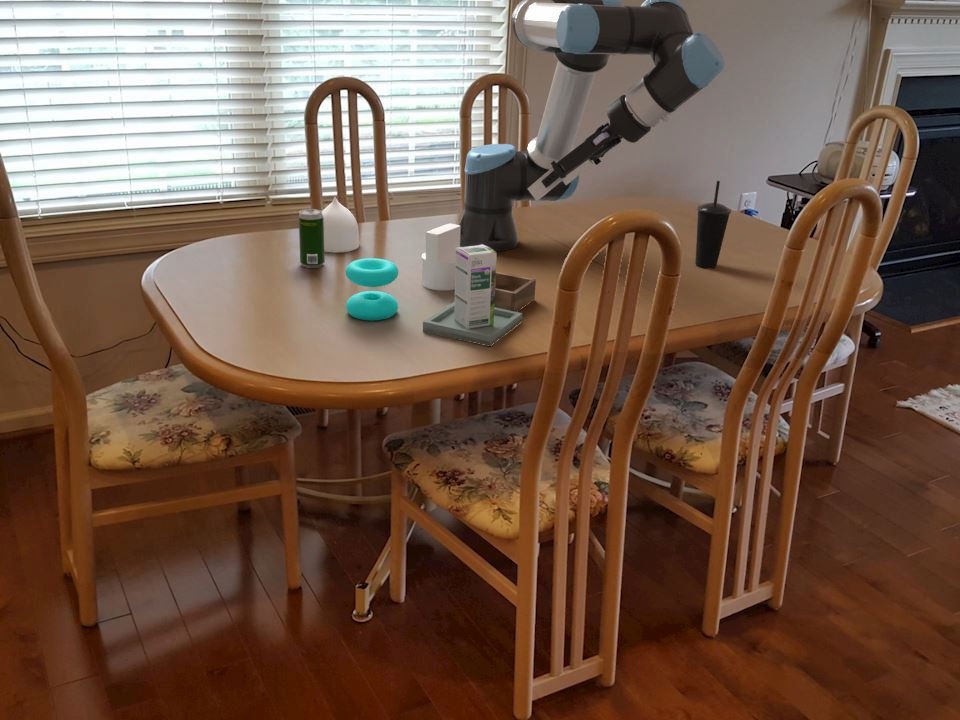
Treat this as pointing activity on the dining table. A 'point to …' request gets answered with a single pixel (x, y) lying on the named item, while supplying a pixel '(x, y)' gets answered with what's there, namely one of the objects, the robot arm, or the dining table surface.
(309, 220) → the beer can
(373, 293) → the donuts
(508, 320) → the tray
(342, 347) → the dining table surface
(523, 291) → the brown square open box
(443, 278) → the cylinder with rectangular tab
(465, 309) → the syrup box
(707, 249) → the drinking cup
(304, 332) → the dining table surface
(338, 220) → the teardrop
